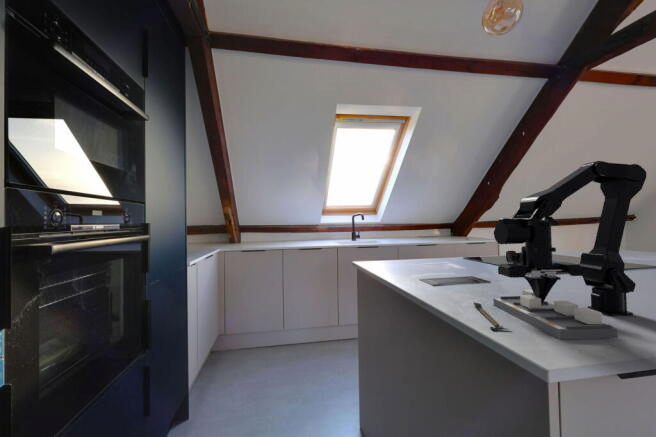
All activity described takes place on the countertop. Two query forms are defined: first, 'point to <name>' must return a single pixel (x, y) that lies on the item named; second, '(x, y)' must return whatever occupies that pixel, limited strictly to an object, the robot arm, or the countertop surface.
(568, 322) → the switch bank
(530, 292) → the white rectangular block
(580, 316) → the off-white short block
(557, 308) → the white rectangular block
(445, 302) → the countertop surface
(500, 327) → the claw hammer
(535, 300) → the tab
